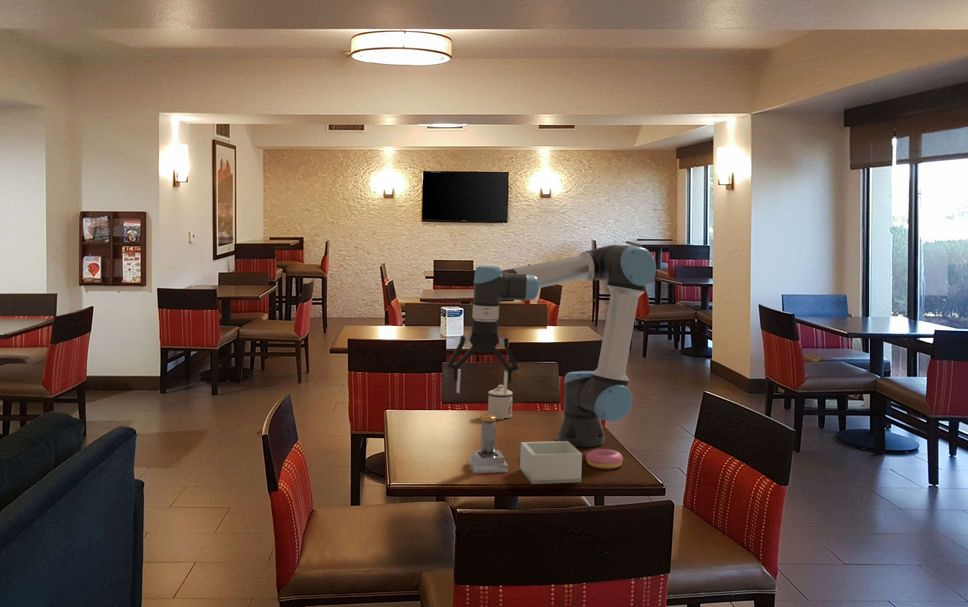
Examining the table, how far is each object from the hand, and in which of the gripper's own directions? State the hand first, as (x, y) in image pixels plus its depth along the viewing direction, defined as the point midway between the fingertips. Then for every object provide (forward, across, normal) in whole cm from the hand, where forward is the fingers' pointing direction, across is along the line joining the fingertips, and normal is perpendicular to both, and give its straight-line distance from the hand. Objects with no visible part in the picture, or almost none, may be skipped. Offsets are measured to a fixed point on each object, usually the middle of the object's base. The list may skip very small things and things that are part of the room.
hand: (481, 393), depth 260 cm
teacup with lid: (+20, +12, +65) cm, 69 cm away
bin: (+21, +20, -10) cm, 30 cm away
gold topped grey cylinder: (+19, +3, -2) cm, 20 cm away
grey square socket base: (+21, +3, -2) cm, 22 cm away
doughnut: (+21, +38, +2) cm, 43 cm away
